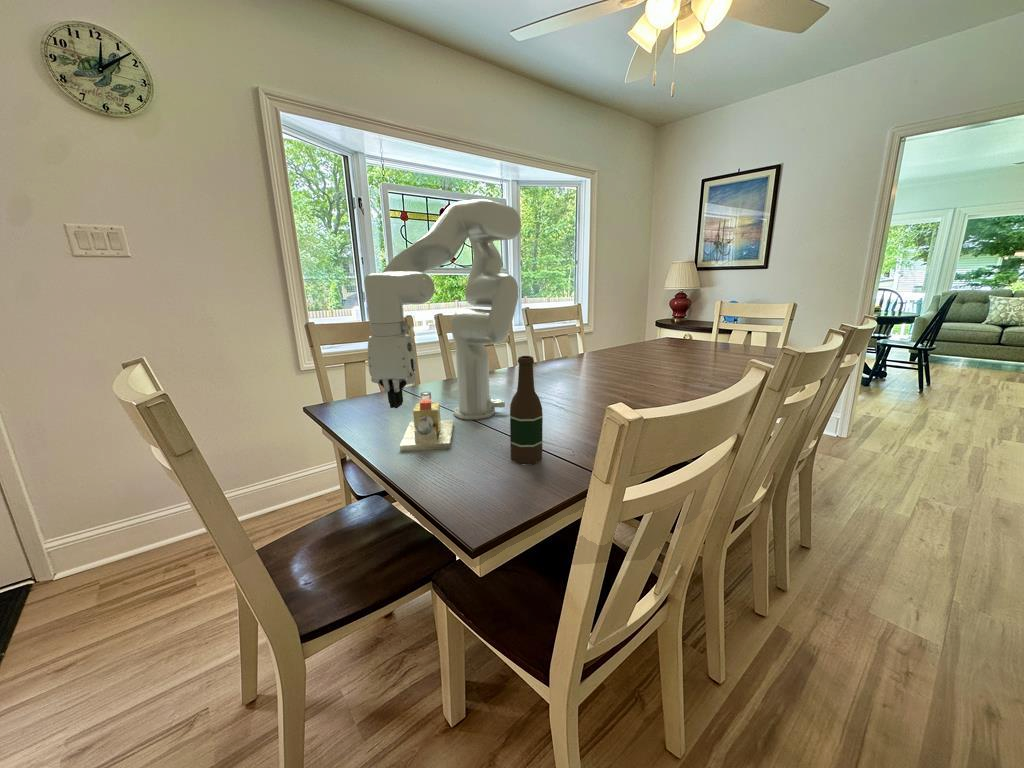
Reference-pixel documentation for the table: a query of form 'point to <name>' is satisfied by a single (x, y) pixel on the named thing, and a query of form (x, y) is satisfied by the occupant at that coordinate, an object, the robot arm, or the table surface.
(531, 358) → the beer bottle
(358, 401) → the table surface
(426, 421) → the valve stand
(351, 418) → the table surface
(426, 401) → the valve lever
